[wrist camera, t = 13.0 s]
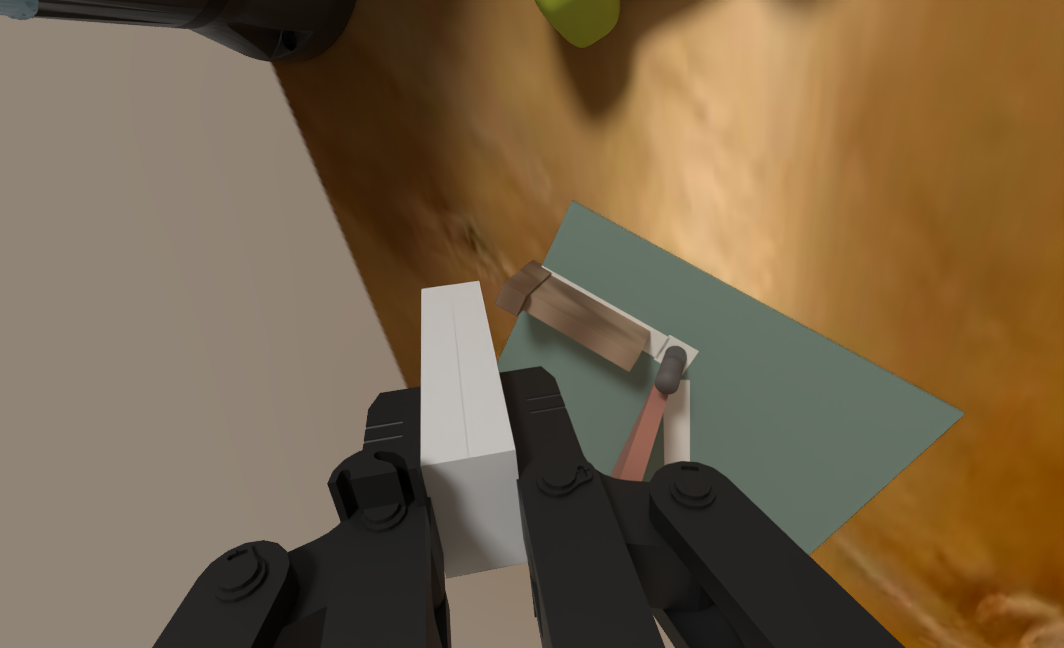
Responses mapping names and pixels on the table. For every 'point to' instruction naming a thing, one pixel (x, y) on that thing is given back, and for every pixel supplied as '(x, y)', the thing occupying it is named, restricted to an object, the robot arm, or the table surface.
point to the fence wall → (586, 321)
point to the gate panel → (641, 439)
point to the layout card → (727, 385)
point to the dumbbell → (581, 18)
